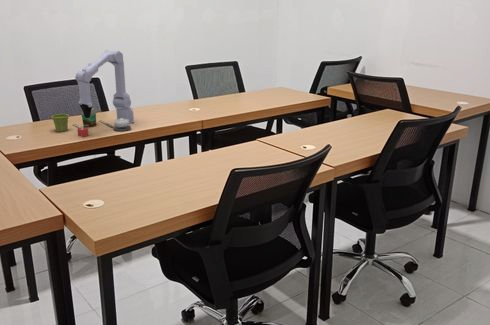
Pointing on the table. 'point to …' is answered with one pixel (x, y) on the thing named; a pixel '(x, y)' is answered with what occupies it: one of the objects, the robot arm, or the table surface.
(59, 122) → the plant pot
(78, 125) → the game lane
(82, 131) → the red die
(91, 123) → the food container
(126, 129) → the dark grey disc
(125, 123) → the dome
